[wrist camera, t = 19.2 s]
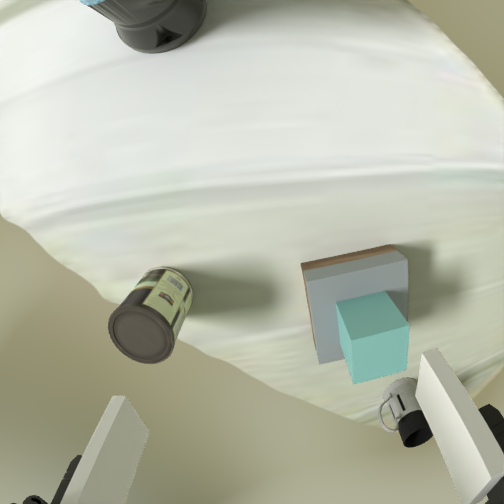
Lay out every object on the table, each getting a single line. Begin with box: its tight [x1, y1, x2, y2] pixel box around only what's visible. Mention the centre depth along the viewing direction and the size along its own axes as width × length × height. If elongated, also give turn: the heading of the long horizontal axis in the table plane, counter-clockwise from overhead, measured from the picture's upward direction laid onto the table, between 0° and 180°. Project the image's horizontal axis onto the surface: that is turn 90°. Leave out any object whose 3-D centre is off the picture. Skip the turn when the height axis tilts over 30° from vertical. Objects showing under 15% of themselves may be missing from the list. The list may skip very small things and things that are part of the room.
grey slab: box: [304, 251, 408, 364], centre depth 47 cm, size 16×16×4 cm
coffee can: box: [108, 267, 193, 364], centre depth 47 cm, size 10×10×14 cm
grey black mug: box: [378, 378, 433, 447], centre depth 53 cm, size 9×14×15 cm, turn 70°
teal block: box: [336, 291, 410, 384], centre depth 41 cm, size 8×8×10 cm
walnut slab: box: [301, 244, 397, 348], centre depth 51 cm, size 16×16×4 cm
